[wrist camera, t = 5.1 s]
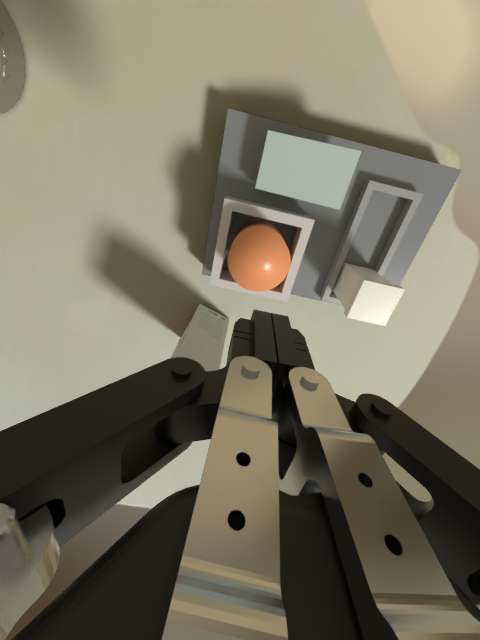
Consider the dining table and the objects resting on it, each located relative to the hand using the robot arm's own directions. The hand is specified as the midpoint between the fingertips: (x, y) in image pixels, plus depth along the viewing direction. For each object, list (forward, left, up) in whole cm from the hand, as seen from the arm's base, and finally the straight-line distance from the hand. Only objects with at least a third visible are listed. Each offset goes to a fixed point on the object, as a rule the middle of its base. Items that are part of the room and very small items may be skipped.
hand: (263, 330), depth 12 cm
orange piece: (0, 0, -16) cm, 16 cm away
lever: (+10, -1, -16) cm, 19 cm away
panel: (+5, +3, -19) cm, 20 cm away
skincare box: (-4, -12, -19) cm, 23 cm away
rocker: (+2, +7, -14) cm, 16 cm away
